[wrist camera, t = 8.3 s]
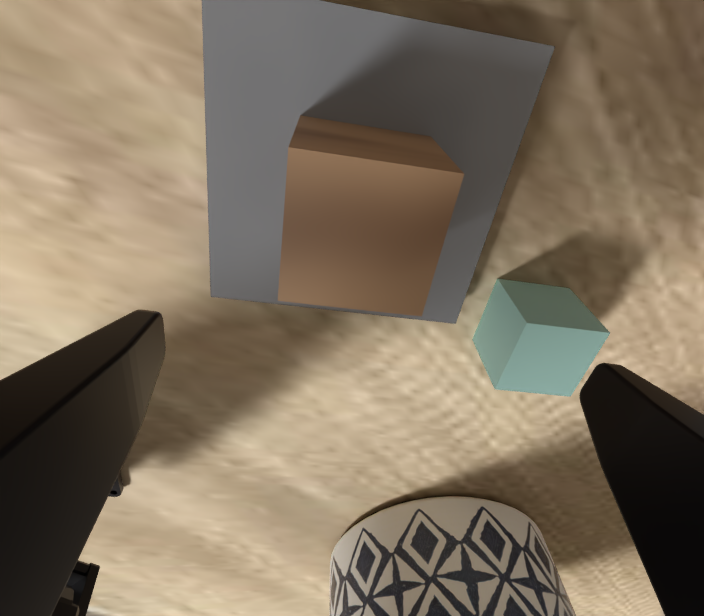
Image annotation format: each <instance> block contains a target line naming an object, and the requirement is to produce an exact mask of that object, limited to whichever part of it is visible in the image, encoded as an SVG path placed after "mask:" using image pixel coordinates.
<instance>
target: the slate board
mask: <svg viewBox="0 0 704 616" xmlns="http://www.w3.org/2000/svg"><path fill="white" fill-rule="evenodd" d="M202 24H203V57H204V89H205V122H206V155H207V188H208V221H209V254H210V287H211V297H218V298H227V299H236V300H245V301H254V302H263V303H272V304H281V305H290V306H299V307H309V308H318V309H327V310H336V311H345V312H354V313H363V314H372V315H381V316H390V317H400V318H409V319H418V320H427V321H436V322H445V323H454V324H456V321H457V318H458V316H459V313H460V310H461V307H462V304H463V302H464V299H465V296H466V293H467V290H468V288H469V285H470V282H471V279H472V277H473V274H474V271H475V268H476V265H477V263H478V260H479V257H480V254H481V251H482V249H483V246H484V243H485V240H486V238H487V235H488V232H489V229H490V226H491V224H492V221H493V218H494V215H495V212H496V210H497V207H498V204H499V201H500V199H501V196H502V193H503V190H504V187H505V185H506V182H507V179H508V176H509V173H510V171H511V168H512V165H513V162H514V160H515V157H516V154H517V151H518V148H519V146H520V143H521V140H522V137H523V134H524V132H525V129H526V126H527V123H528V121H529V118H530V115H531V112H532V109H533V107H534V104H535V101H536V98H537V96H538V93H539V90H540V87H541V84H542V82H543V79H544V76H545V73H546V70H547V68H548V65H549V62H550V59H551V57H552V54H553V51H554V48H555V46H550V45H545V44H540V43H535V42H530V41H525V40H520V39H514V38H509V37H504V36H499V35H494V34H489V33H484V32H479V31H474V30H469V29H463V28H458V27H453V26H448V25H443V24H438V23H433V22H428V21H423V20H418V19H412V18H407V17H402V16H397V15H392V14H387V13H382V12H377V11H372V10H367V9H361V8H356V7H351V6H346V5H341V4H336V3H331V2H326V1H321V0H202ZM300 115H301V116H307V117H313V118H320V119H326V120H332V121H338V122H345V123H351V124H357V125H363V126H369V127H376V128H382V129H388V130H394V131H401V132H407V133H413V134H419V135H425V136H431V137H432V138H433V140H434V141H435V142H436V143H437V144H438V145H439V146H440V147H441V148H442V150H443V151H444V152H445V153H446V154H447V155H448V156H449V157H450V158H451V160H452V161H453V162H454V163H455V164H456V165H457V166H458V167H459V168H460V170H461V171H462V172H463V173H464V177H463V180H462V183H461V187H460V190H459V193H458V197H457V200H456V203H455V207H454V210H453V213H452V217H451V220H450V223H449V227H448V230H447V234H446V237H445V240H444V244H443V247H442V250H441V254H440V257H439V260H438V264H437V267H436V270H435V274H434V277H433V280H432V284H431V287H430V290H429V294H428V297H427V300H426V304H425V307H424V310H423V314H422V317H421V316H412V315H403V314H394V313H385V312H375V311H366V310H357V309H348V308H339V307H330V306H320V305H311V304H302V303H293V302H284V301H278V289H279V274H280V260H281V246H282V231H283V217H284V203H285V188H286V174H287V160H288V147H289V144H290V141H291V139H292V136H293V134H294V131H295V128H296V126H297V123H298V120H299V118H300Z"/></svg>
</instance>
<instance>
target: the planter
mask: <svg viewBox="0 0 704 616" xmlns="http://www.w3.org/2000/svg"><path fill="white" fill-rule="evenodd" d="M330 616H576V615H575V612H574V610H573V607H572V605H571V603H570V600H569V598H568V595H567V593H566V590H565V588H564V586H563V583H562V581H561V578H560V576H559V574H558V571H557V569H556V566H555V564H554V561H553V559H552V557H551V554H550V552H549V550H548V547H547V545H546V543H545V540H544V538H543V535H542V533H541V531H540V530H539V528H538V526H537V525H536V524H535V523H534V522H533V521H532V520H531V519H530V518H529V517H528V516H527V515H525V514H524V513H522V512H520V511H518V510H517V509H515V508H513V507H510V506H507V505H505V504H502V503H499V502H495V501H491V500H487V499H481V498H473V497H460V496H445V497H431V498H425V499H419V500H413V501H409V502H405V503H401V504H397V505H395V506H392V507H389V508H386V509H383V510H381V511H379V512H377V513H375V514H373V515H371V516H369V517H367V518H365V519H364V520H362V521H361V522H359V523H357V524H356V525H354V526H353V527H352V528H351V529H350V530H349V531H347V532H346V533H345V534H344V535H343V536H342V537H341V539H340V540H339V541H338V543H337V544H336V546H335V548H334V550H333V552H332V555H331V562H330Z"/></svg>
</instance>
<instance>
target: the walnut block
mask: <svg viewBox="0 0 704 616" xmlns="http://www.w3.org/2000/svg"><path fill="white" fill-rule="evenodd" d="M463 177H464V173H463V172H462V171H461V170H460V168H459V167H458V166H457V165H456V164H455V163H454V162H453V161H452V160H451V158H450V157H449V156H448V155H447V154H446V153H445V152H444V151H443V150H442V148H441V147H440V146H439V145H438V144H437V143H436V142H435V141H434V140H433V138H432V137H431V136H425V135H419V134H413V133H407V132H401V131H394V130H388V129H382V128H376V127H369V126H363V125H357V124H351V123H345V122H338V121H332V120H326V119H320V118H313V117H307V116H301V115H300V118H299V120H298V123H297V126H296V128H295V131H294V134H293V136H292V139H291V141H290V144H289V147H288V160H287V174H286V188H285V203H284V217H283V231H282V246H281V260H280V274H279V289H278V301H284V302H293V303H302V304H311V305H320V306H330V307H339V308H348V309H357V310H366V311H375V312H385V313H394V314H403V315H412V316H421V317H422V314H423V310H424V307H425V304H426V300H427V297H428V294H429V290H430V287H431V284H432V280H433V277H434V274H435V270H436V267H437V264H438V260H439V257H440V254H441V250H442V247H443V244H444V240H445V237H446V234H447V230H448V227H449V223H450V220H451V217H452V213H453V210H454V207H455V203H456V200H457V197H458V193H459V190H460V187H461V183H462V180H463Z"/></svg>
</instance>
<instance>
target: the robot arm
mask: <svg viewBox="0 0 704 616" xmlns="http://www.w3.org/2000/svg"><path fill="white" fill-rule="evenodd" d="M165 348H166V347H165V335H164V324H163V317H162V315H161V314H160V313H159V312H156V311H147V310H136V311H134V312H132V313H130V314H128V315H126V316H124V317H122V318H120V319H118V320H116V321H114V322H112V323H111V324H109V325H107V326H105V327H103V328H101V329H99V330H97V331H95V332H93V333H91V334H89V335H87V336H85V337H83V338H81V339H79V340H78V341H76V342H74V343H72V344H70V345H68V346H66V347H64V348H62V349H60V350H58V351H56V352H54V353H52V354H50V355H48V356H46V357H45V358H43V359H41V360H39V361H37V362H35V363H33V364H31V365H29V366H27V367H25V368H23V369H21V370H19V371H17V372H15V373H13V374H11V375H10V376H8V377H6V378H4V379H2V380H0V616H86V612H87V609H88V606H89V602H90V599H91V595H92V592H93V589H94V585H95V582H96V578H97V575H98V571H99V568H100V566H99V565H96V564H93V563H90V564H87V563H84V562H81V561H79V560H78V558H79V556H80V554H81V552H82V550H83V548H84V546H85V544H86V541H87V539H88V537H89V535H90V533H91V531H92V529H93V527H94V525H95V523H96V521H97V518H98V516H99V514H100V512H101V510H102V508H103V506H104V504H105V502H106V500H107V497H108V496H111V497H117V496H120V495H121V493H122V491H123V484H122V479H121V475H120V470H121V468H122V466H123V464H124V462H125V460H126V458H127V456H128V453H129V451H130V449H131V447H132V445H133V443H134V441H135V439H136V436H137V434H138V432H139V430H140V427H141V425H142V422H143V419H144V416H145V413H146V410H147V407H148V404H149V401H150V398H151V395H152V392H153V389H154V386H155V383H156V380H157V377H158V374H159V371H160V369H161V366H162V363H163V360H164V356H165ZM580 403H581V406H582V409H583V412H584V415H585V418H586V421H587V424H588V428H589V431H590V434H591V437H592V440H593V443H594V446H595V450H596V453H597V456H598V459H599V461H600V464H601V467H602V469H603V472H604V474H605V477H606V479H607V482H608V484H609V486H610V489H611V491H612V493H613V496H614V498H615V500H616V503H617V505H618V507H619V509H620V512H621V514H622V516H623V519H624V521H625V523H626V526H627V528H628V530H629V533H630V535H631V537H632V540H633V542H634V544H635V547H636V549H637V551H638V554H639V556H640V558H641V561H642V563H643V565H644V568H645V570H646V572H647V575H648V577H649V579H650V582H651V584H652V586H653V588H654V591H655V593H656V595H657V598H658V600H659V602H660V605H661V607H662V609H663V612H664V614H665V616H704V415H703V414H701V413H700V412H698V411H696V410H695V409H693V408H691V407H690V406H688V405H686V404H685V403H683V402H681V401H680V400H678V399H677V398H675V397H673V396H672V395H670V394H668V393H667V392H665V391H663V390H662V389H660V388H658V387H657V386H655V385H653V384H652V383H650V382H648V381H647V380H645V379H643V378H642V377H640V376H638V375H637V374H635V373H633V372H632V371H630V370H628V369H627V368H625V367H623V366H621V365H617V364H609V363H601V364H599V365H597V366H596V367H595V369H594V370H593V372H592V373H591V375H590V376H589V378H588V380H587V381H586V383H585V384H584V386H583V387H582V389H581V392H580Z"/></svg>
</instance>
